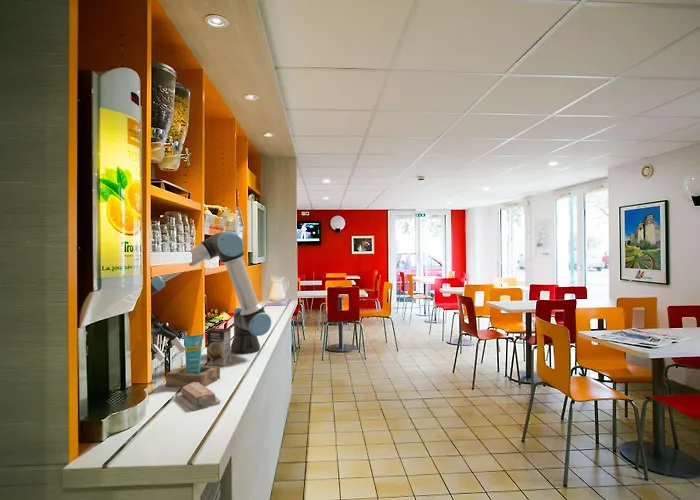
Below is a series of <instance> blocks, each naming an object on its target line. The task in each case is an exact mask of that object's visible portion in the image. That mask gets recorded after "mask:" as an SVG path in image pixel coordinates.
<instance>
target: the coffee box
mask: <svg viewBox="0 0 700 500" xmlns="http://www.w3.org/2000/svg"><path fill="white" fill-rule="evenodd" d="M231 333H232V332H231V328H216V327H215V328H210V329H208V330H206V366H217V367H225V366H226V365H229V364H230V363H231ZM228 363H229V364H228Z"/></svg>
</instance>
